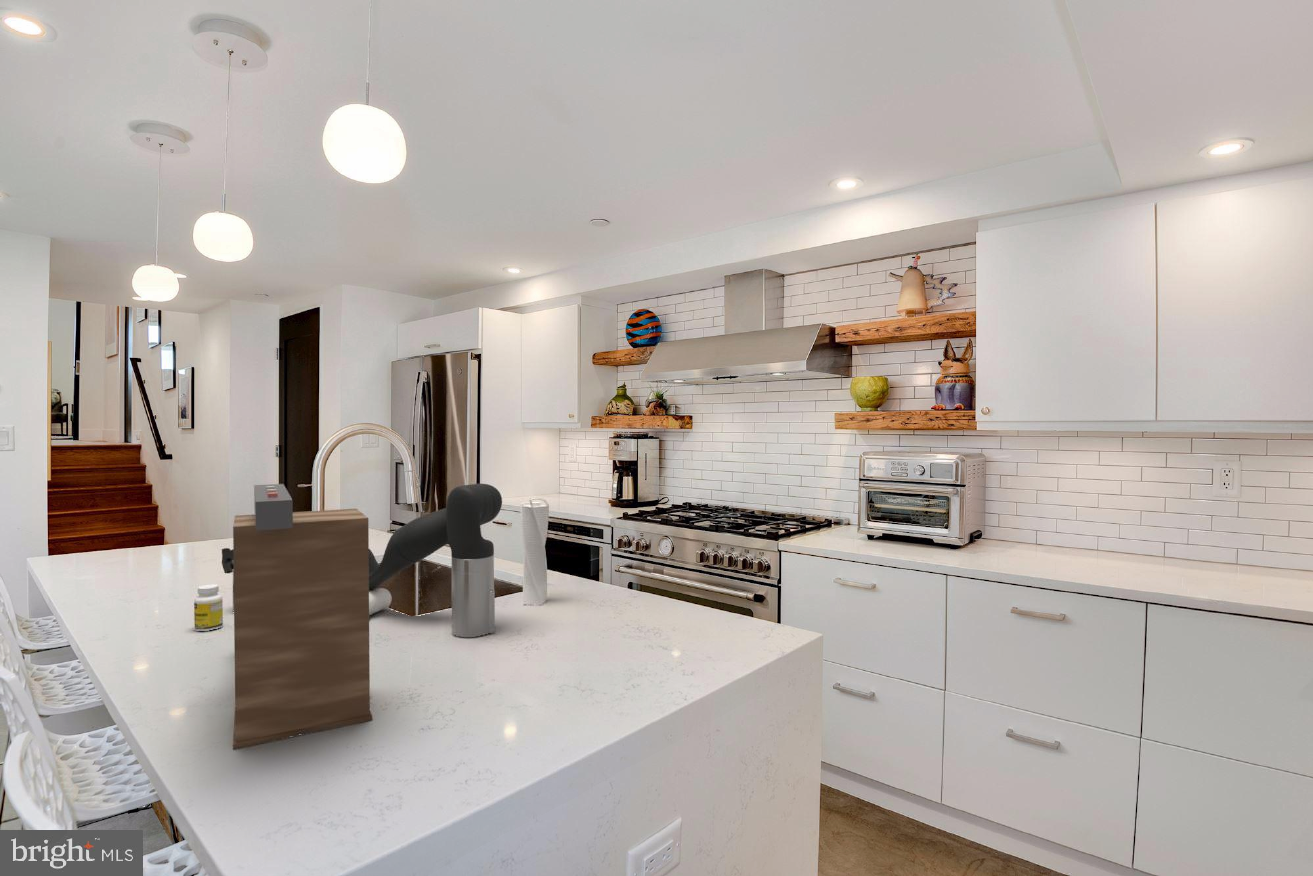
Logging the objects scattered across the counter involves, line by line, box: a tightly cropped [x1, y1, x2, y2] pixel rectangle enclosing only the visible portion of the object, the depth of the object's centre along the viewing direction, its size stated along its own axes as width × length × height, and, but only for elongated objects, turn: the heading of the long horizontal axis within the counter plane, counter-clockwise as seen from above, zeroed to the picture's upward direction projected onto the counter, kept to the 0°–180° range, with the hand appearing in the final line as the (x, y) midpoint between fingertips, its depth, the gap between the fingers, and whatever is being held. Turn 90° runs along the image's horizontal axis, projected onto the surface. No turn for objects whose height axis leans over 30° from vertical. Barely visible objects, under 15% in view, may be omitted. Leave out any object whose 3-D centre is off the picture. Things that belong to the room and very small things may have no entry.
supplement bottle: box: [193, 583, 224, 632], centre depth 153 cm, size 5×5×10 cm
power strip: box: [253, 483, 294, 531], centre depth 107 cm, size 30×4×4 cm, turn 31°
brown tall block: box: [232, 508, 373, 750], centre depth 107 cm, size 15×19×32 cm
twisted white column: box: [520, 496, 550, 606], centre depth 176 cm, size 8×8×28 cm
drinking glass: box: [369, 587, 392, 616], centre depth 163 cm, size 7×7×15 cm
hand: (270, 541), depth 113 cm, fingers open, 8 cm apart
